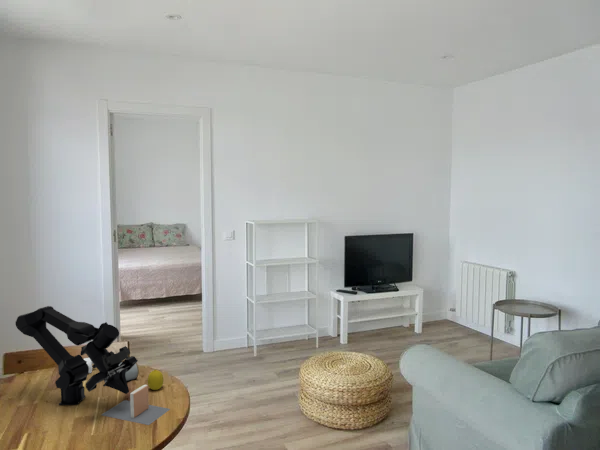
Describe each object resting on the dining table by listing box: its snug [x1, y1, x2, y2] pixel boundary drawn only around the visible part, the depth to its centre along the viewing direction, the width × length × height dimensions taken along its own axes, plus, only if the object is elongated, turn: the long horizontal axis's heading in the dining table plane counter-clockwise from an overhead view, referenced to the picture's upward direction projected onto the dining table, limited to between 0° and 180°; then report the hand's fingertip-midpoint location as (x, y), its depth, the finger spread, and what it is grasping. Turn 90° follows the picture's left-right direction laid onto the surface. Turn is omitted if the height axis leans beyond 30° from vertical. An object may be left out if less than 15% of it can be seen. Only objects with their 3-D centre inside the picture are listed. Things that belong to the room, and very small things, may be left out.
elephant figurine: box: [83, 357, 94, 374], centre depth 182 cm, size 7×8×6 cm
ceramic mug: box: [114, 361, 140, 382], centre depth 174 cm, size 11×8×8 cm
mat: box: [100, 399, 171, 426], centre depth 147 cm, size 19×11×1 cm, turn 70°
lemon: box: [147, 369, 164, 391], centre depth 164 cm, size 6×6×8 cm
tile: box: [129, 384, 150, 418], centre depth 146 cm, size 2×7×8 cm, turn 160°
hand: (127, 392), depth 148 cm, fingers closed
